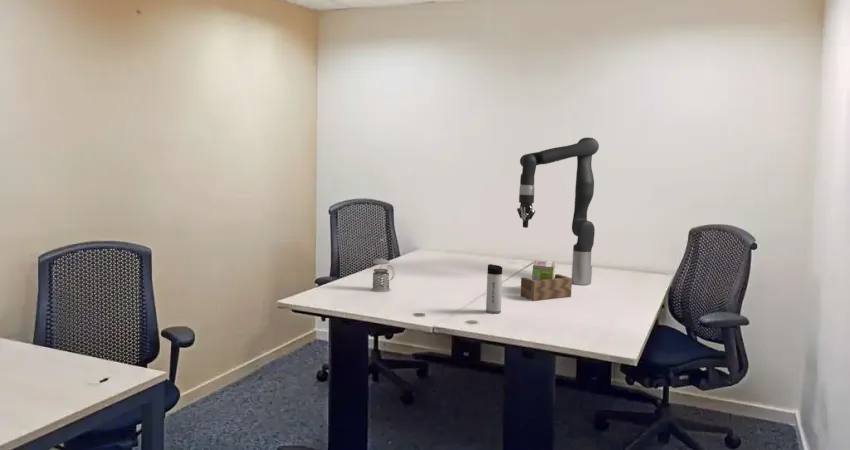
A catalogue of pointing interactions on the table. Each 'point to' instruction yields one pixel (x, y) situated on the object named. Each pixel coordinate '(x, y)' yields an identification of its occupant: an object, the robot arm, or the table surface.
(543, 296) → the display nook
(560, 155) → the robot arm
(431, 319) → the table surface
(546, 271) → the tea box
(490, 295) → the travel mug
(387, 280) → the french press
